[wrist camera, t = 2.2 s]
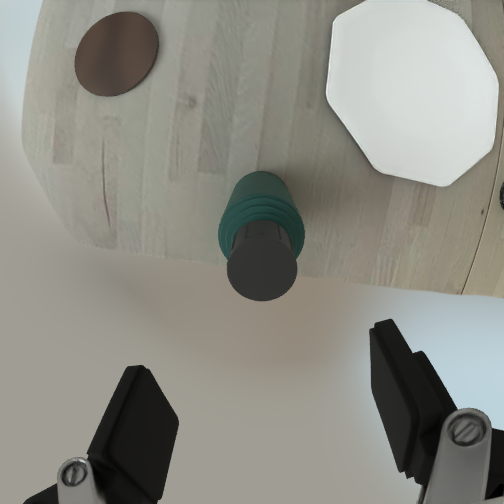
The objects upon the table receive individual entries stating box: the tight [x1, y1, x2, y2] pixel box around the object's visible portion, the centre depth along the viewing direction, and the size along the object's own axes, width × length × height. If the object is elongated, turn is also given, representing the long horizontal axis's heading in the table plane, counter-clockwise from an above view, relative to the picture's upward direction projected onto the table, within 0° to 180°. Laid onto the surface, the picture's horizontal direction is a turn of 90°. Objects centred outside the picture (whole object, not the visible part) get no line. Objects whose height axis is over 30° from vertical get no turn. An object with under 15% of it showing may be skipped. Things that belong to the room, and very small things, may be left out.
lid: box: [75, 12, 159, 96], centre depth 29 cm, size 11×11×1 cm
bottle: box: [218, 171, 305, 260], centre depth 27 cm, size 6×6×18 cm
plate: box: [325, 0, 499, 187], centre depth 29 cm, size 24×24×2 cm
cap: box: [227, 219, 297, 301], centre depth 20 cm, size 4×4×4 cm
